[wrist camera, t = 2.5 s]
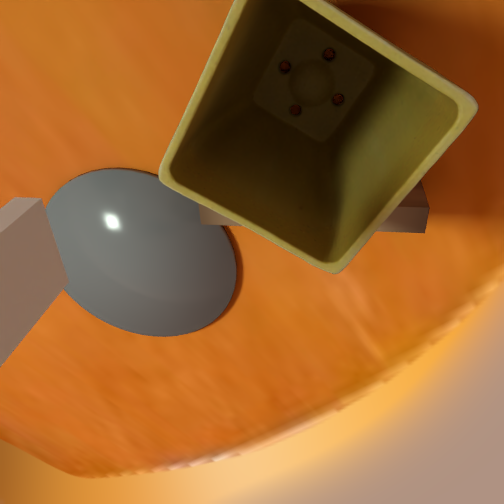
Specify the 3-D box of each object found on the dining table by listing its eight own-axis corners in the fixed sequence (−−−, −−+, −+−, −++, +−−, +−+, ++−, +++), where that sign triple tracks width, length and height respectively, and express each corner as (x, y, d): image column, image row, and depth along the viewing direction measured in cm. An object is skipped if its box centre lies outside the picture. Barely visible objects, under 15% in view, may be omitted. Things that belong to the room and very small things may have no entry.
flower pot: (441, 49, 23) (488, 107, 15) (338, 187, 28) (336, 280, 20) (285, -54, 21) (254, -46, 14) (205, 110, 26) (152, 180, 19)
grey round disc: (73, 326, 38) (71, 329, 38) (16, 165, 30) (12, 168, 30) (243, 339, 36) (242, 343, 35) (228, 169, 28) (227, 172, 28)
